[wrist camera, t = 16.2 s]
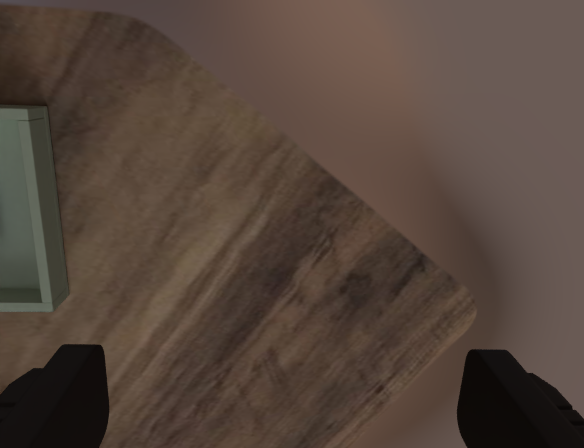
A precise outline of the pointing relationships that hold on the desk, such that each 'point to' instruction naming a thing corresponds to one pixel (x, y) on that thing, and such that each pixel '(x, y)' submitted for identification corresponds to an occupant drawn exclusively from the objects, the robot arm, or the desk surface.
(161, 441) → the desk surface
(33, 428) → the robot arm
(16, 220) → the tray
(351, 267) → the desk surface
